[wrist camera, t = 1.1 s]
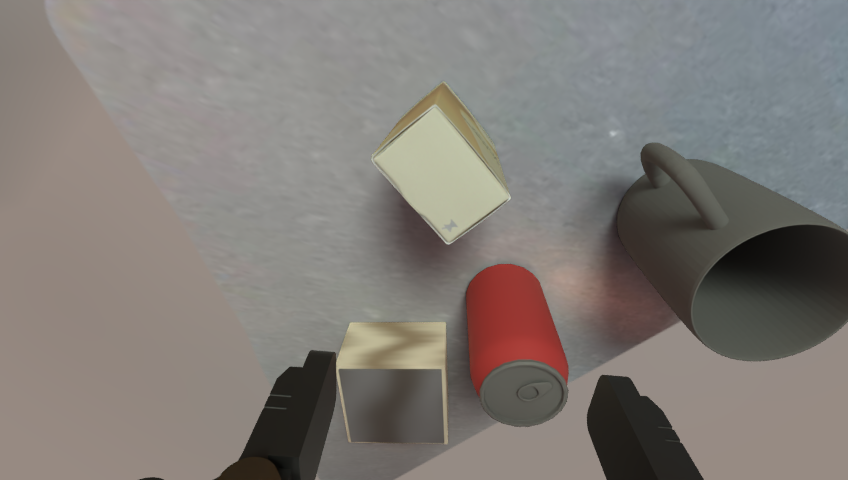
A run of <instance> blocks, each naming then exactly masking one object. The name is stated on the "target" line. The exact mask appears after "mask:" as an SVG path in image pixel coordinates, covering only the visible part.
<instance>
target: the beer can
mask: <svg viewBox="0 0 848 480" xmlns="http://www.w3.org/2000/svg"><path fill="white" fill-rule="evenodd" d="M466 304H467V322H468V340H469V358H470V376H471V380H472V382H473V385H474V387H475V390H476V392H477V394H478V396H479V398H480V402H481V404H482V407H483V409H484V410H485V411H486V412H487V413H488V415H489V416H490V417H491V418H493V419H495V420H497V421H499V422H501V423H503V424H507V425H511V426H516V427H529V426H534V425H538V424H542V423H544V422H546V421H548V420H550V419H552V418H553V417H555V416H556V415H557V414H558V413H559V412H560V411H562V409H563V407H564V405H565V404H566V402H567V398H568V388H567V382H568V374H569V373H568V363H567V360H566V357H565V353H564V351H563V348H562V345H561V342H560V339H559V336H558V333H557V331H556V328H555V325H554V322H553V319H552V316H551V314H550V311H549V308H548V305H547V302H546V299H545V297H544V294H543V291H542V288H541V285H540V282H539V281H538V280H537V278H536V277H535V276H534V275H533V273H531V272H529V271H528V270H526V269H525V268H523V267H520V266H516V265H512V264H498V265H495V266H491V267H488V268H486V269H484V270H483V271H481V272H480V273H478V274H477V275H476V276H475V277H474V279H473V280H472V281H471V282H470V284H469V287H468V289H467V292H466Z"/></svg>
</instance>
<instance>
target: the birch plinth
mask: <svg viewBox="0 0 848 480" xmlns="http://www.w3.org/2000/svg"><path fill="white" fill-rule="evenodd" d="M336 375H337V380H338V386H339V391H340V397H341V403H342V408H343V414H344V419H345V425H346V430H347V436H348V442H356V443H418V444H448V370H447V338H446V322H373V323H350V324H349V327H348V330H347V333H346V336H345V338H344V341H343V344H342V347H341V350H340V353H339V356H338V359H337V361H336Z"/></svg>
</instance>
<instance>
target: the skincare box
mask: <svg viewBox="0 0 848 480" xmlns="http://www.w3.org/2000/svg"><path fill="white" fill-rule="evenodd" d="M371 161H372V163H373V164H374V165H375V166H376V167H377V168H378V169H379V170H380V172H381V173H382V174H383V175H384V176H385V177H386V178H387V179H388V181H389V182H390V183H391V184H392V185H393V186H394V187H395V188H396V189H397V190H398V191H399V193H400V194H401V195H402V196H403V197H404V199H405V200H406V201H407V202H408V203H409V204H410V205H411V206H412V207H413V208H414V209H415V210H416V211H417V213H418V214H419V215H420V216H421V217H422V218H423V219H424V220H425V221H426V222H427V224H428V225H429V226H430V227H431V228H432V229H433V230H434V231H435V232H436V233H437V234H438V235H439V236H440V238H441V239H442V240H443V241H444V242H445V243H446V244H447V245H449V244H451V243H452V242H454V241H455V240H456V239H458V238H459V237H461V236H462V235H464V234H465V233H466V232H468V231H470V230H471V229H472V228H474V227H475V226H477V225H478V224H479V223H481V222H482V221H484V220H485V219H486V218H488V217H489V216H490V215H492V214H493V213H494V212H496V211H497V210H498V209H499V208H501V207H502V206H503V205H504V204H506V203H507V202H508V201H509V200H510V199H511V196H510V193H509V191H508V187H507V184H506V181H505V178H504V175H503V172H502V168H501V165H500V162H499V159H498V156H497V152H496V149H495V146H494V143H493V142H492V141H491V139H490V138H489V136H488V135H487V134H486V132H485V131H484V129H483V128H482V127H481V125H480V124H479V123H478V121H477V120H476V119H475V118H474V116H473V115H472V114H471V112H470V111H469V110H468V109H467V107H466V106H465V105H464V104H463V103H462V101H461V100H460V99H459V98H458V97H457V95H456V94H455V93H454V92H453V91H452V89H451V88H450V87H449V86H448V85H447V83H446V82H444V81H443V82H442V83H440V84H439V85H438V86H437V87H436V88H434V89H433V90H432V91H431V92H430V93H428V94H427V95H426V96H425V97H424V98H423V99H421V100H420V101H419V102H418V103H417V104H416V105H415V106H413V107H412V108H411V109H410V110H409V111H408V112H407V113H406V114H405V115H403V116H402V118H401V119H400V120H399V122H398V123H397V124H396V126H395V127H394V128H393V129H392V131H391V132H390V133H389V135H388V136H387V137H386V138H385V140H384V141H383V142H382V144H381V145H380V146H379V147H378V149H377V150H376V151H375V152H374V154H373V155H372V156H371Z"/></svg>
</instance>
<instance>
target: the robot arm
mask: <svg viewBox="0 0 848 480" xmlns="http://www.w3.org/2000/svg"><path fill="white" fill-rule="evenodd" d="M335 401H336V353H335V352H326V351H314V350H311V351H310V352H309V354H308V356H307V358H306V361H305V363H304V366H303V368H302V367H289V368H288V369H287V370H286V371H285V372H284V373H283V374H282V375H281V376H279V377H278V378H277V380H276V382H275V384H274V386H273V389H272V391H271V393H270V396H269V397H268V399H267V401H266V404H265V407H264V409H263V410H262V412H261V414H260V416H259V419H258V421H257V423H256V425H255V427H254V429H253V432H252V434H251V436H250V438H249V440H248V443H247V444H246V447H245V449H244V451H243V453H242V455H241V457H240V458H239V460H238V461H237V462H235V463H233V464H232V465H230V466H229V467H227V468H226V469H225V470H224V471H223V472H222V473H221V475H220V476H219V477H218V478H216V479H214V480H315V477H316V473H317V470H318V466H319V462H320V459H321V455H322V451H323V448H324V444H325V441H326V437H327V433H328V430H329V426H330V422H331V419H332V415H333V411H334V407H335ZM587 426H588V431H589V434H590V437H591V439H592V442H593V445H594V447H595V450H596V452H597V455H598V458H599V461H600V463H601V466H602V468H603V471H604V474H605V476H606V479H607V480H704V479H703V478H702V476H701V474H700V473H699V471H698V469H697V468H696V466H695V464H694V463H693V461H692V459H691V457H690V456H689V454H688V453H687V451H686V449H685V448H684V446H683V444H682V443H680V439H679V437H678V436H677V434H676V432H675V431H674V430H672V426H671V424H670V422H669V421H668V419H667V418H666V416H665V414H664V412H663V411H662V410H661V409H660V408H659V407H658V406H657V405H656V404H655V403H654V402H653V401H652V400H650V399H649V398H648V397H647V396H640V395H639V393H638V391H637V389H636V387H635V386H634V384H633V382H632V380H631V379H630V378H629V377H622V376H611V375H610V376H609V375H602V376H600V378H599V380H598V383H597V386H596V388H595V391H594V395H593V397H592V400H591V404H590V406H589V409H588V414H587ZM140 480H163V479H160V478H154V477H152V478H144V479H140Z"/></svg>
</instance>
